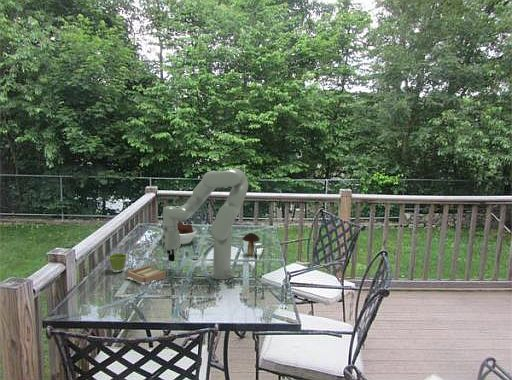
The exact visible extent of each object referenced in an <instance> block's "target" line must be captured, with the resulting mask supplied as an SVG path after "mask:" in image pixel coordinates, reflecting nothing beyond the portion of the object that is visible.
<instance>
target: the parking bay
mask: <svg viewBox="0 0 512 380" xmlns="http://www.w3.org/2000/svg"><path fill="white" fill-rule="evenodd" d="M148 268H151V266H150V265H149V264H148V265H145V266H140V267H137V268H134V269H130V270H127V271H126V274H125V275H126V276H128V277H131V278H133V279H136V280H138V281H141V282H148V281H153V280H159V279H163V280H165V279H164V278H166V279H167V275H166V274H167V272H166V270H163V271H161V272H159V273H155V274H152V275H149V276H146V277H143V276H141V275H138V274H136V273H137V272H140V271H143V270H146V269H148Z"/></svg>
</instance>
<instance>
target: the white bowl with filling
mask: <svg viewBox="0 0 512 380" xmlns="http://www.w3.org/2000/svg"><path fill="white" fill-rule="evenodd" d="M177 228H178V230H179V234H180V241H181V244H182V245H187V244H189V243H191V242H192V240H193V238H194V237H195V236H196V234H197V232H198V231H197V229H196V228H195V227H193V225H192V224H189V223H188V224H183V222H182V221H179V222H178V221H177ZM163 232H164V231H163V228H161V229H160V232H159V233H160V234H161V237H162V236H163Z"/></svg>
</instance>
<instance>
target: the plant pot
mask: <svg viewBox="0 0 512 380" xmlns="http://www.w3.org/2000/svg"><path fill="white" fill-rule="evenodd" d="M126 258H128V255H126V254H124V253H115V254H111V255H109V256H108V259H109V261H110V267H111V268H110V269H111V270H112V269H114V270H121V269H123V268H124V269H125V264H126Z"/></svg>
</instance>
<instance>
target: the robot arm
mask: <svg viewBox="0 0 512 380" xmlns="http://www.w3.org/2000/svg"><path fill="white" fill-rule="evenodd" d="M217 188H218V189H220V188H231V190H230V192H229V193H228V197H227V198H226V201H225V202H224V203H223V205H222V206H221V207H219V210H218V212H217V214H216V216H215V218H214V221H213V223H212V225H211V228H210V236H211V237H212V239H214V240H213V254H212V255H213V256H212V257H213V259H212V260H213V261H212V271H211V272H210V273H209V277H211V279H214V278H215V280H229V279H231V278H233V277H235V275H236V272H234V271H233V268H232V267H231V266H232V265H231V261H232V260H231V259H232V242H233V241H232V239H233V229H234V228H233V224H234V222H235V221H236V219H237V217H238V216H239V213H240V210H241V208H242V205H243V203H244V202H245V199H246V196H247V193H248V190H249V180H248V178H247V176H246V174H245V172H244V171H242V170H241V169H239V168H232V169H229V170H219V171H217V170H210V171H207V172H206V173H205V172H204V174H203V176H202V179H201V180H200V182H198V184H197V185H196V186H195V187H194V189H193V190H192V193H191V196H190V197H189V198H188V200H187V201H186V202H185V203H184V204H183V205H181V206H180V207H177V206H175V205H167V206H164V207H163V209H162V216H163V217H162V218H163V219H162V223H163V224H162V225H163V228H162V229H163V231H164V232H163V236H162V235H161V237H162V238H161V248H162V252H163V253H166V254H167V255H168V258H167V259H168V262H175V254H176V252H177V250H179V249H180V247H181V246H182V245H181V241H180V234H179V230H178V228H177V223H178V221H179V222H183V221H184V222H185V221H187V220H188V219H190V218H191V217H192V216H193V215H194V213H196V212H197V210H198V209H199V208H200V207H201V205H202V204H204V202H206V200H207V199H208V198H209V196H210V195H212V193H213V192H214V191H215V190H216V189H217Z"/></svg>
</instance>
